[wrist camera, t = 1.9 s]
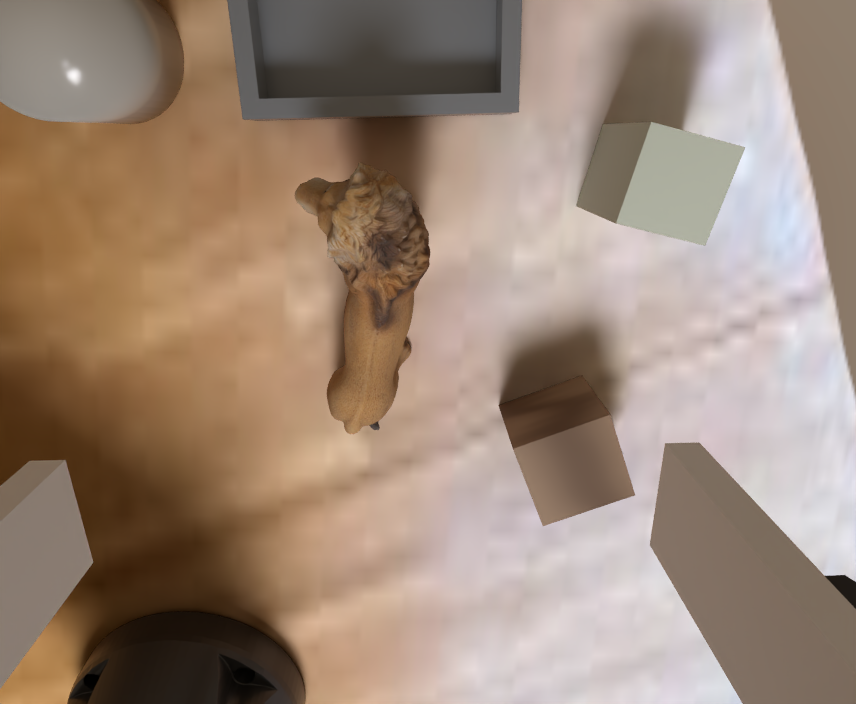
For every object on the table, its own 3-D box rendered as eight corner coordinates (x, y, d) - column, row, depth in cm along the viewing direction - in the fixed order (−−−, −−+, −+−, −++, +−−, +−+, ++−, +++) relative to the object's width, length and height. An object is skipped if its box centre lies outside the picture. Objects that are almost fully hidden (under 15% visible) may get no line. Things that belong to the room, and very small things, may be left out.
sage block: (576, 206, 29) (615, 223, 24) (602, 123, 28) (651, 121, 22) (649, 224, 30) (705, 245, 24) (678, 144, 28) (745, 147, 23)
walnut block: (524, 473, 35) (542, 526, 30) (498, 404, 33) (513, 449, 29) (604, 446, 34) (635, 495, 30) (581, 374, 33) (610, 414, 28)
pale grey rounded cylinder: (67, 125, 27) (-22, 123, 22) (32, -22, 25) (-76, -67, 20) (194, 122, 27) (139, 119, 22) (171, -25, 25) (103, -70, 20)
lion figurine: (318, 156, 28) (279, 166, 20) (427, 157, 28) (434, 167, 20) (333, 424, 33) (307, 523, 25) (425, 424, 33) (430, 521, 25)
